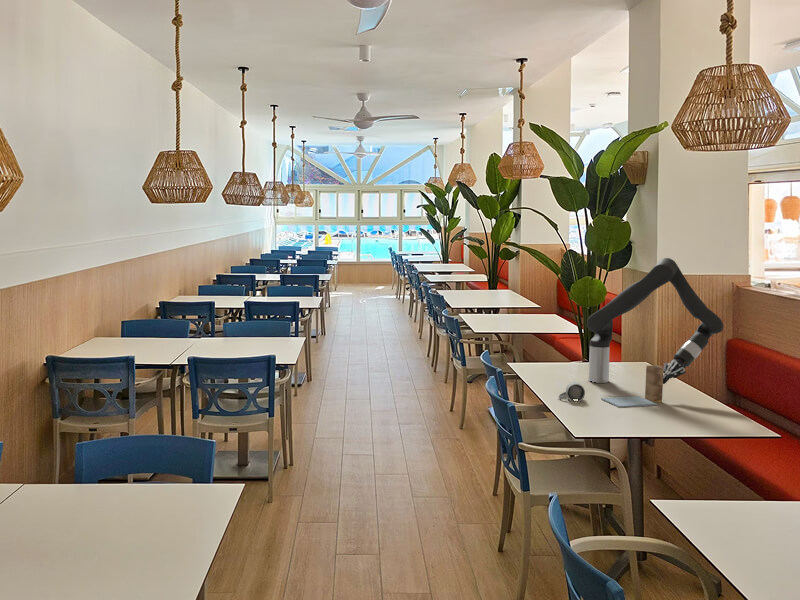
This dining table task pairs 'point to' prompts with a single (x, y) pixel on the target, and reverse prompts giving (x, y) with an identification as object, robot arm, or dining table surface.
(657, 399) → the walnut block
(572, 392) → the ceramic mug
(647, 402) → the slate mat
